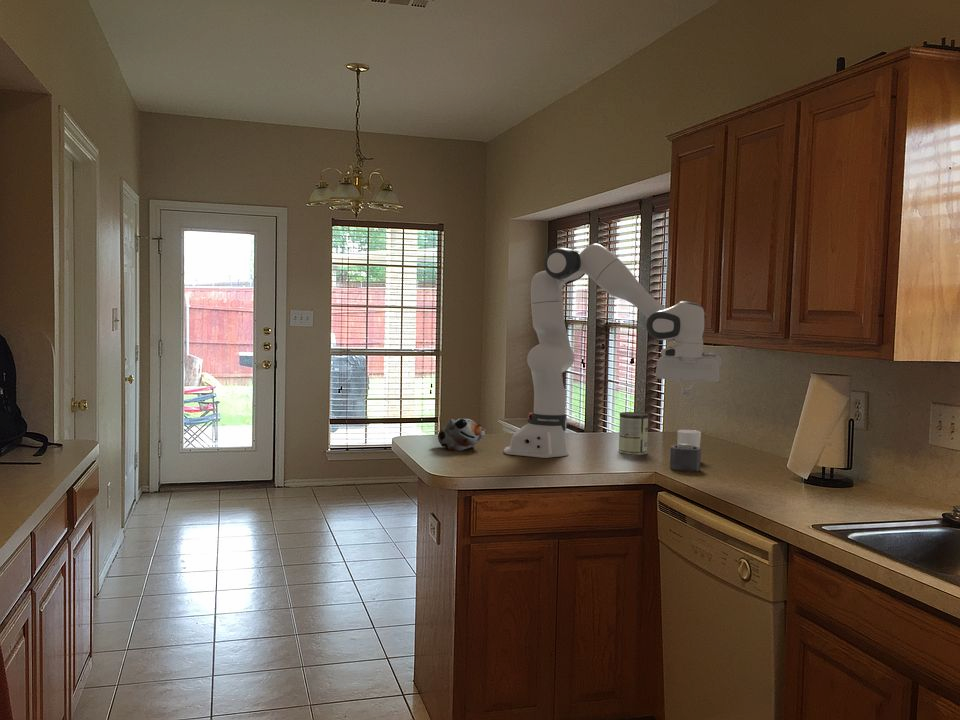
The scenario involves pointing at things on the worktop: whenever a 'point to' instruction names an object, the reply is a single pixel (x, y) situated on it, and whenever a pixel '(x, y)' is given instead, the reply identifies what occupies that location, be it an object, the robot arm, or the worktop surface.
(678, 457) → the dark grey cylinder
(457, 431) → the lucky cat figurine
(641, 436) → the coffee can
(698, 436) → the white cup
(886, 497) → the worktop surface
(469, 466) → the worktop surface
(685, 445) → the cap
